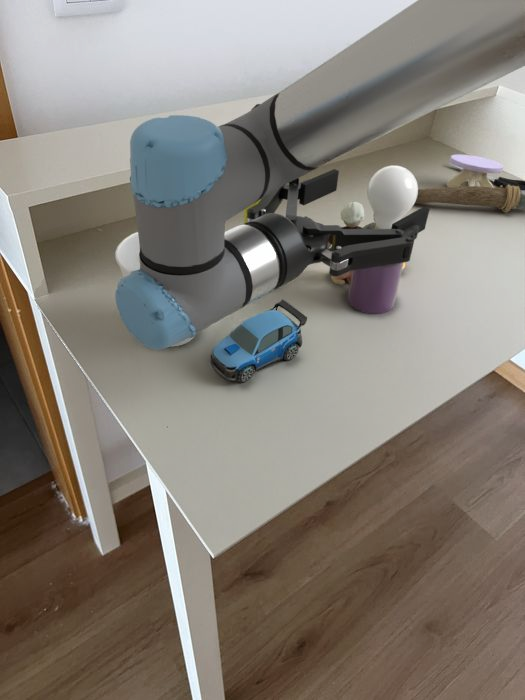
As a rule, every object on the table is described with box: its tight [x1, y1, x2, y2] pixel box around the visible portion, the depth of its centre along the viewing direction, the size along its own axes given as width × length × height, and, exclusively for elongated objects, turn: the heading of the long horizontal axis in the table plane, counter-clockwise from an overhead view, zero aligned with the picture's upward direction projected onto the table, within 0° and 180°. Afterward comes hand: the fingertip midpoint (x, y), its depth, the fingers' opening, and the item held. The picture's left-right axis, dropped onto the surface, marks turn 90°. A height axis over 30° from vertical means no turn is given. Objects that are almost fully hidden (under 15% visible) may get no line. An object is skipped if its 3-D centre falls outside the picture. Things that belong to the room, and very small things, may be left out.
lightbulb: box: [366, 165, 419, 229], centre depth 76 cm, size 6×6×11 cm
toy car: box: [210, 298, 308, 383], centre depth 73 cm, size 6×12×6 cm, turn 129°
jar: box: [347, 262, 404, 315], centre depth 83 cm, size 7×7×9 cm
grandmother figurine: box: [327, 201, 365, 286], centre depth 85 cm, size 8×4×13 cm, turn 106°
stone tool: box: [414, 184, 525, 213], centre depth 108 cm, size 6×4×30 cm
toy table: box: [446, 153, 505, 188], centre depth 114 cm, size 10×9×6 cm
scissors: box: [447, 163, 525, 190], centre depth 119 cm, size 7×1×20 cm
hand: (378, 197), depth 73 cm, fingers open, 13 cm apart
